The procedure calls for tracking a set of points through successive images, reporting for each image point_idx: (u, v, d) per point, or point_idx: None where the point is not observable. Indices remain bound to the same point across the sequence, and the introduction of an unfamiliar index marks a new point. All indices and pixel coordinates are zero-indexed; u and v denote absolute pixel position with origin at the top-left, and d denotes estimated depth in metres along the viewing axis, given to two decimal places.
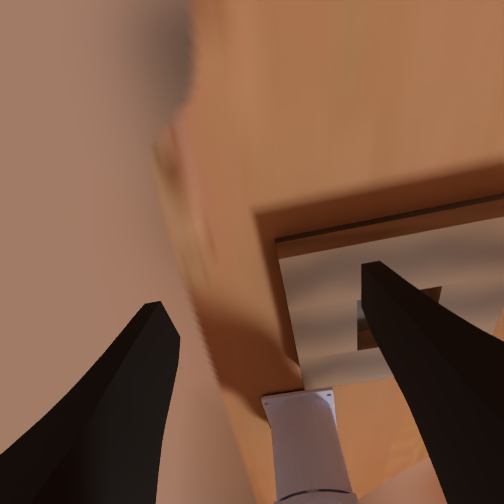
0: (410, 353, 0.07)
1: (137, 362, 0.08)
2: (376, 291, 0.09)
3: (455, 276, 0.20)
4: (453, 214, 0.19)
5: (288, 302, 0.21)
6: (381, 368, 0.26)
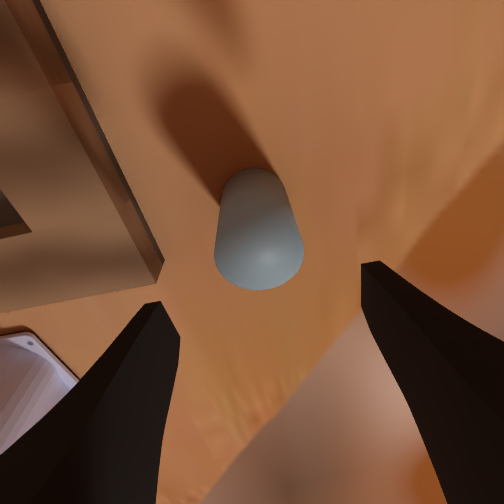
0: (410, 353, 0.07)
1: (137, 362, 0.08)
2: (376, 291, 0.09)
3: None
4: None
5: None
6: (8, 287, 0.18)
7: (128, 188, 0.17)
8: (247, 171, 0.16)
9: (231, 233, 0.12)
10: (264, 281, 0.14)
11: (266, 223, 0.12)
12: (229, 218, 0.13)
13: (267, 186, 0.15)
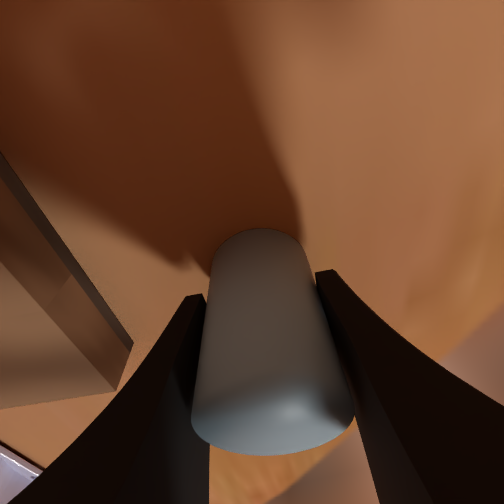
0: (349, 362, 0.07)
1: (188, 354, 0.08)
2: (324, 300, 0.09)
3: None
4: None
5: None
6: None
7: (70, 258, 0.11)
8: (249, 234, 0.11)
9: (221, 395, 0.06)
10: (280, 446, 0.08)
11: (290, 382, 0.06)
12: (218, 359, 0.07)
13: (283, 272, 0.09)
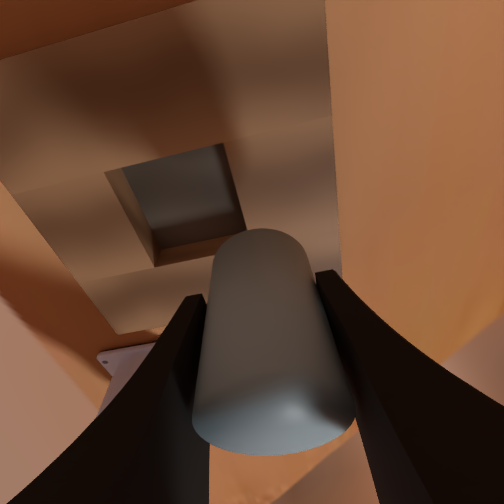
0: (349, 362, 0.07)
1: (188, 354, 0.08)
2: (324, 300, 0.09)
3: (236, 122, 0.13)
4: None
5: None
6: (205, 298, 0.19)
7: None
8: (249, 234, 0.11)
9: (221, 396, 0.06)
10: (282, 446, 0.08)
11: (289, 382, 0.06)
12: (217, 359, 0.07)
13: (283, 272, 0.09)
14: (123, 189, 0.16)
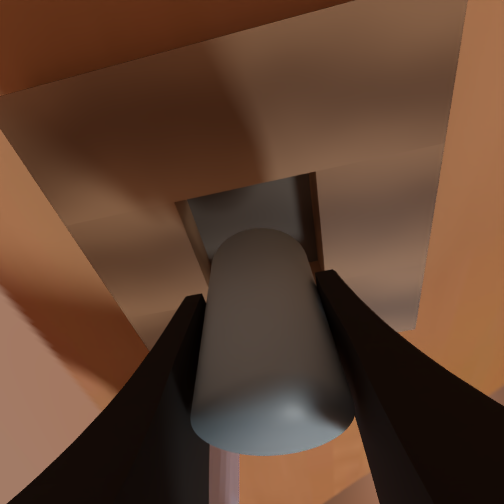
0: (349, 362, 0.07)
1: (188, 354, 0.08)
2: (324, 300, 0.09)
3: (334, 149, 0.11)
4: None
5: (53, 204, 0.12)
6: None
7: None
8: (248, 234, 0.11)
9: (219, 396, 0.06)
10: (281, 446, 0.08)
11: (288, 382, 0.06)
12: (215, 359, 0.07)
13: (282, 272, 0.09)
14: (188, 218, 0.14)
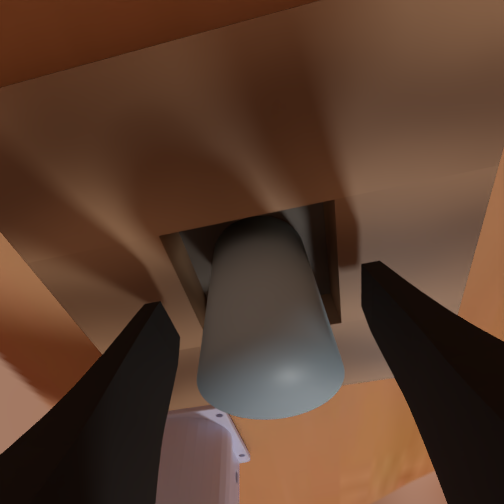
0: (410, 353, 0.07)
1: (137, 362, 0.08)
2: (376, 291, 0.09)
3: (359, 173, 0.09)
4: None
5: (9, 239, 0.10)
6: None
7: None
8: (248, 221, 0.11)
9: (223, 357, 0.07)
10: (279, 410, 0.09)
11: (284, 343, 0.07)
12: (219, 326, 0.08)
13: (279, 252, 0.10)
14: (177, 250, 0.11)
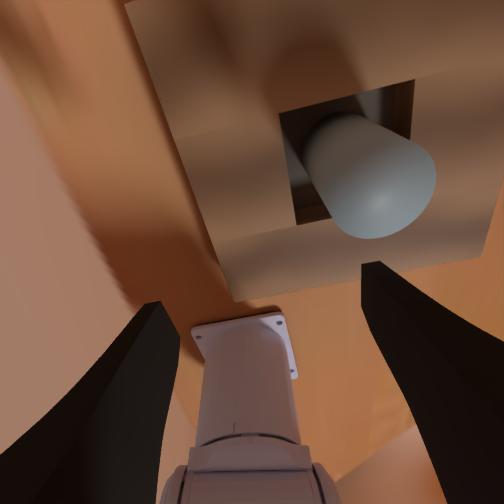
0: (410, 353, 0.07)
1: (137, 362, 0.08)
2: (376, 291, 0.09)
3: (436, 54, 0.12)
4: None
5: (167, 116, 0.13)
6: (337, 261, 0.18)
7: None
8: (336, 113, 0.15)
9: (355, 164, 0.10)
10: (380, 227, 0.12)
11: (400, 149, 0.10)
12: (347, 150, 0.11)
13: (372, 122, 0.13)
14: None
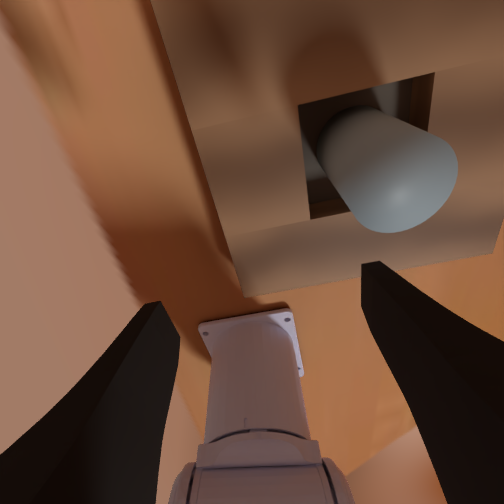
0: (410, 353, 0.07)
1: (137, 362, 0.08)
2: (376, 291, 0.09)
3: (457, 47, 0.12)
4: None
5: (186, 106, 0.13)
6: (349, 257, 0.18)
7: None
8: (353, 107, 0.15)
9: (378, 158, 0.10)
10: (399, 221, 0.12)
11: (423, 143, 0.10)
12: (369, 144, 0.11)
13: (391, 116, 0.13)
14: None
